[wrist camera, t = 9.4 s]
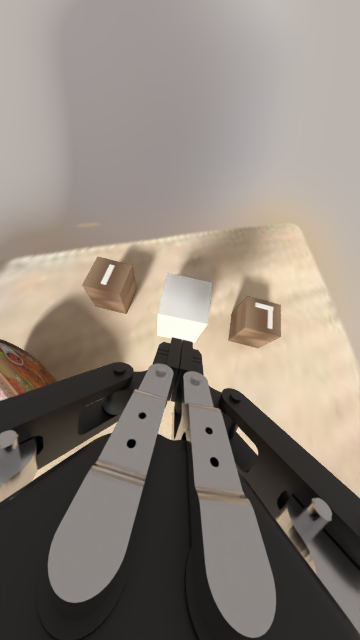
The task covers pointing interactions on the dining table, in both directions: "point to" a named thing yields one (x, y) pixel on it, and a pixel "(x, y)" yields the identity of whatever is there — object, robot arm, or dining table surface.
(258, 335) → the walnut block
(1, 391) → the tin
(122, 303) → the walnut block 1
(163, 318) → the plain block
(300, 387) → the dining table surface
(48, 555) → the robot arm
